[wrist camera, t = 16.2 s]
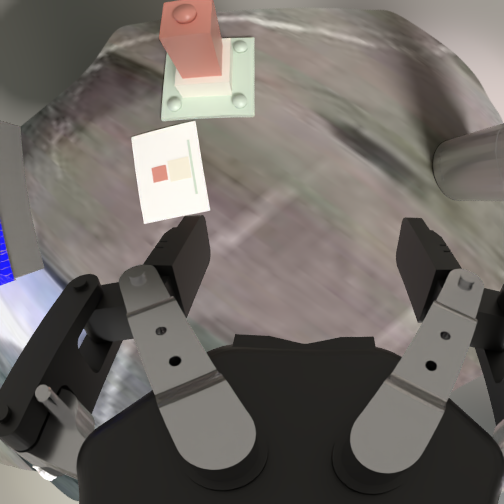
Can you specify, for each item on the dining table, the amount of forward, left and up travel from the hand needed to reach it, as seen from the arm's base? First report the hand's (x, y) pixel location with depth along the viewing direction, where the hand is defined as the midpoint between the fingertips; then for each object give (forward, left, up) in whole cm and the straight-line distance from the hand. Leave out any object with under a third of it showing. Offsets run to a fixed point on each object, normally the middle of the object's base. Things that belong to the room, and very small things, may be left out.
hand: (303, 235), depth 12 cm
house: (+45, -3, -27) cm, 53 cm away
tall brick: (+8, -19, -21) cm, 30 cm away
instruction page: (+13, -6, -27) cm, 31 cm away
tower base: (+8, -19, -27) cm, 34 cm away
